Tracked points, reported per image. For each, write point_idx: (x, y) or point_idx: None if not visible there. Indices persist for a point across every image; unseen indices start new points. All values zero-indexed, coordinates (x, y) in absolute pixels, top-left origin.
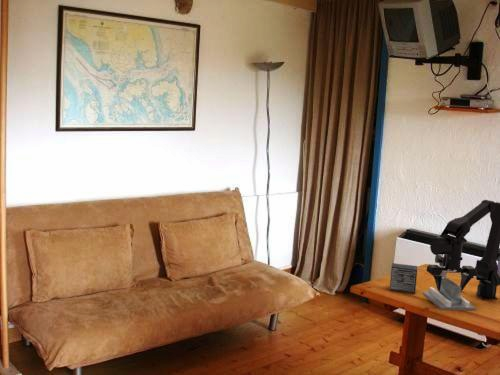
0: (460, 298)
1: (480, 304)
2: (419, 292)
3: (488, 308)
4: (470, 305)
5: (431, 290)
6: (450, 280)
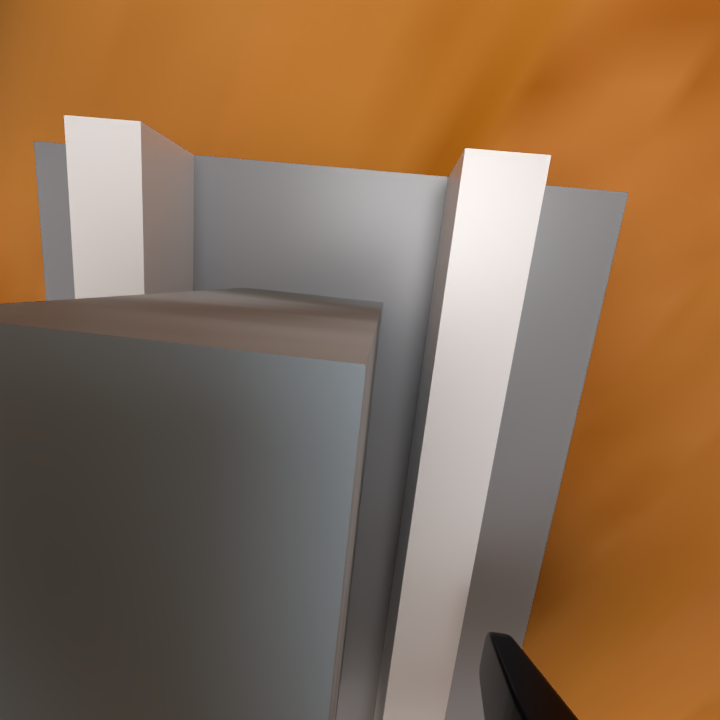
0: (385, 701)
1: (709, 595)
2: (40, 57)
3: (703, 716)
4: (477, 716)
5: (94, 239)
6: (274, 688)
